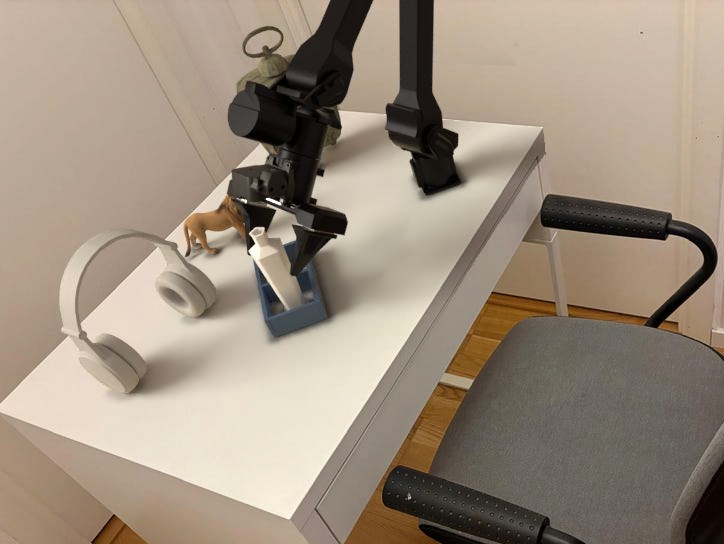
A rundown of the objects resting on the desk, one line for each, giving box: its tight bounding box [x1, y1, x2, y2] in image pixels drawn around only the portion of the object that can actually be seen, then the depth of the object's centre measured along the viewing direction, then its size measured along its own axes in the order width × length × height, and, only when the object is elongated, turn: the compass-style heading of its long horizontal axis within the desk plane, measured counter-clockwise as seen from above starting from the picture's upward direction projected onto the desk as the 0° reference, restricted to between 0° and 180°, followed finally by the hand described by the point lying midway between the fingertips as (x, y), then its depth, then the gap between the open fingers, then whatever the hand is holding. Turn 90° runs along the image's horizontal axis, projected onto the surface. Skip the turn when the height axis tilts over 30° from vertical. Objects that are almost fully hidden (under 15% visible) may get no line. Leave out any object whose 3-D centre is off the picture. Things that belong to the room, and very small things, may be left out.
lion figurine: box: [183, 193, 246, 258], centre depth 121 cm, size 15×5×9 cm, turn 116°
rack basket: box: [252, 239, 329, 339], centre depth 111 cm, size 8×16×4 cm, turn 18°
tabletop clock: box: [235, 25, 342, 168], centre depth 126 cm, size 14×9×25 cm, turn 120°
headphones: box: [58, 227, 218, 394], centre depth 103 cm, size 20×8×19 cm, turn 152°
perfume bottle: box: [249, 227, 311, 312], centre depth 104 cm, size 5×4×15 cm
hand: (271, 265), depth 103 cm, fingers open, 9 cm apart
